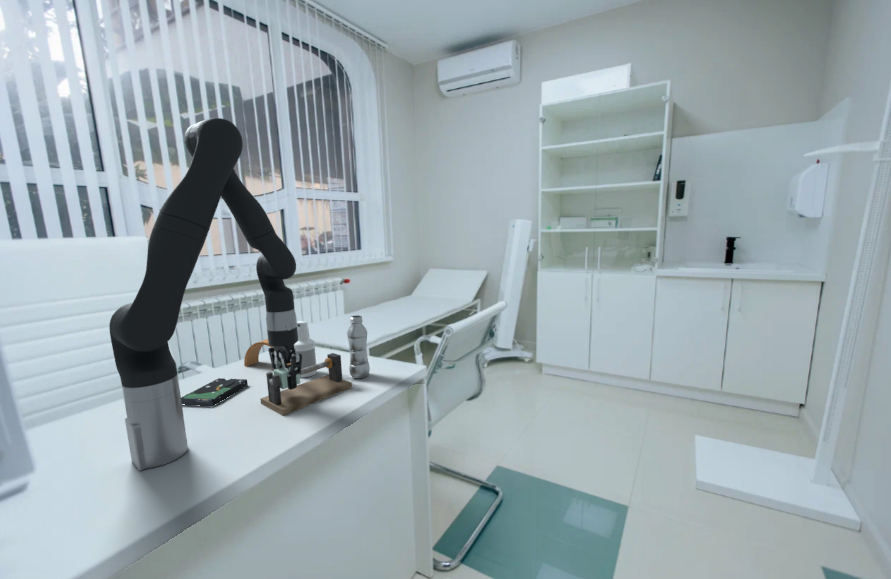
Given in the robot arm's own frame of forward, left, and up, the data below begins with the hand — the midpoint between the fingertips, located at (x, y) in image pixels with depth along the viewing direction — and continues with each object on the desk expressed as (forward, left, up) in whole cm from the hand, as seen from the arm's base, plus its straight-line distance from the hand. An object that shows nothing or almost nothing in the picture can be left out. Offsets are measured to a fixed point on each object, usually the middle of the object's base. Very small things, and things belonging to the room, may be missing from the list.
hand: (287, 386), depth 105 cm
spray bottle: (+15, +16, -5) cm, 22 cm away
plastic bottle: (+24, -1, -5) cm, 24 cm away
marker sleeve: (0, 0, 0) cm, 0 cm away
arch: (+12, +33, -5) cm, 36 cm away
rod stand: (+6, 0, -5) cm, 8 cm away
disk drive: (-10, +23, -6) cm, 26 cm away
